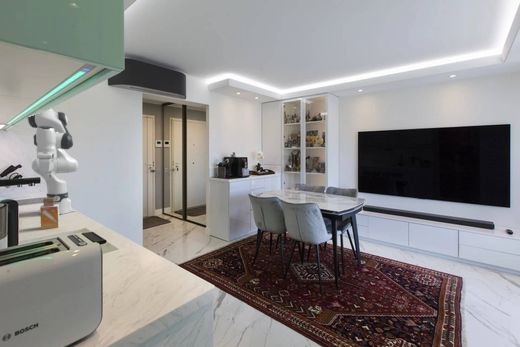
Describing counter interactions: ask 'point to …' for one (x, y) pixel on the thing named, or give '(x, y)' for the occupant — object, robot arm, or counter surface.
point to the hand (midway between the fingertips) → (48, 178)
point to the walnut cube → (49, 201)
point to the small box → (49, 216)
